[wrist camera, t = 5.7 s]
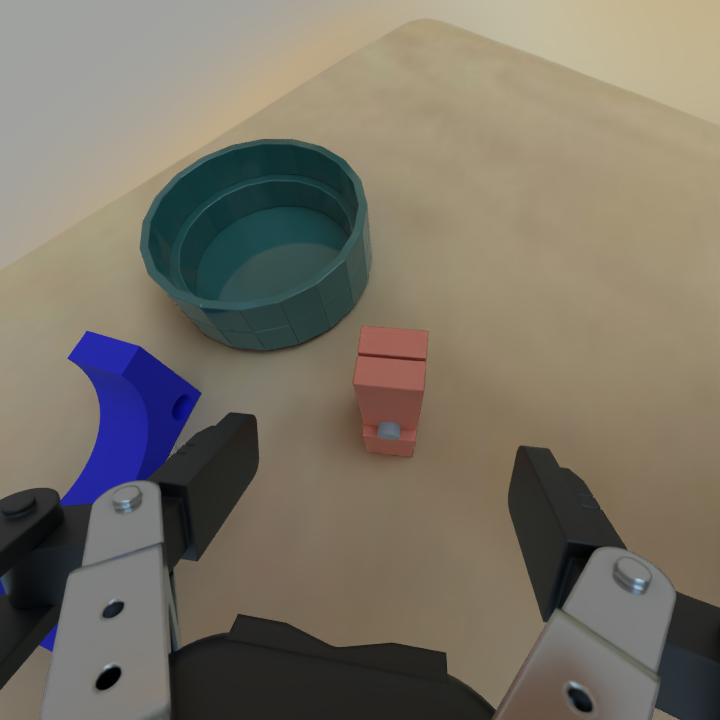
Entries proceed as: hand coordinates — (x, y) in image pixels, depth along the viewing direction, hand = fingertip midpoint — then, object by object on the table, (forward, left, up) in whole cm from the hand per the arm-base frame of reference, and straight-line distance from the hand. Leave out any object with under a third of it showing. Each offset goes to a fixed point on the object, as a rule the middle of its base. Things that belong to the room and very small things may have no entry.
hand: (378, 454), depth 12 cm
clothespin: (0, -3, -9) cm, 9 cm away
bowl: (+9, -13, -9) cm, 18 cm away
